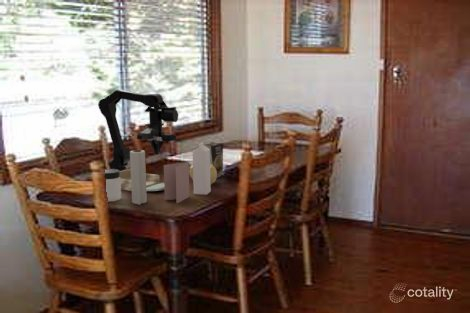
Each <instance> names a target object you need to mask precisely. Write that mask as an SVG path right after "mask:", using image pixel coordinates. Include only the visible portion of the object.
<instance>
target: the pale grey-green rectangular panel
mask: <svg viewBox="0 0 470 313" xmlns="http://www.w3.org/2000/svg"><path fill="white" fill-rule="evenodd" d="M157 191H165V189H164V182H160V183H159V184H156V185H153V186H150V187H147V188H146V192H157Z"/></svg>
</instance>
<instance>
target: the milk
mask: <svg viewBox="0 0 470 313" xmlns="http://www.w3.org/2000/svg"><path fill="white" fill-rule="evenodd" d="M204 145H205V144H204V141H201V142H200V143H198V147H197V148H195V149H193V150H192V165H193V179H192V181H193V184H192V185H193V195H204V196H205V195H206V196H207V195H208V194H209V193H211V192H212V190H211V185H212V184H211V182H210V149H209V148H207V147H206V146H204Z"/></svg>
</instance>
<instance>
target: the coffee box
mask: <svg viewBox="0 0 470 313" xmlns="http://www.w3.org/2000/svg"><path fill="white" fill-rule="evenodd" d="M203 145H204V146H206V147H207V148H209V149H210V163H211V164H212V165H213V166H214V167H215V168H216V171H217V178H220V177H222V176H221V175H223V176H224V143H222V142H209V143H206V144H203Z"/></svg>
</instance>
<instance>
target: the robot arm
mask: <svg viewBox="0 0 470 313" xmlns="http://www.w3.org/2000/svg"><path fill="white" fill-rule="evenodd" d="M121 100H126V101H132V102H136V103H137V102H138V103H141V104H143V105H145V106H147V108H145V110H144V112H145V113H146V112H147V113H148V114H149V119H148V120H149V123H148V124H147V127H146V129H144V130H143V131H140V132H138V133H137V135H136V139H137V140H146V142H149V144H151V147H152V149H153V152H154V154H155V155H156V156H157V155H159V153H160V152H161V149H162V147H163V145H164V143H165V142H172V141H176V140H177V135H176V134H175V133H165V132H164V131H163V126H165V125H164V124H165V123H177V122H178V120H179V113H178V110H177V107H176V106H172V107H170V106H168V105H167V104H166V102H165V101H164V98H163V96H162V95H161V94H160V93H145V94H144V93H140V92H135V91H128V90H125V89H121V88H120V89H116V90H114V91H113V92H111V93H110V94H109V95H108V96H106V97H104V98H102V99H100V100H99V101H98V103H97V106H98V109H99V111H100V113H101V115H102V116H103V117H104V118H105V121H106V125H107V128H108V132H109V135H110V138H111V141H112V145H113V148H112V149H113V150H112V160H111V161H110V162H109V163H108V166H109V169H116V170H119V171H123V170H126V169H127V166H128V164H129V163H130V151H131V149H130V147H129V146H128V147H127V146H126V145H125V144H124V141H123V137H122V134H121V130H120V128H119V124H118V119H117V117H116V116H117V115H116V114H117V104H118V103H119V102H121Z"/></svg>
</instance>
